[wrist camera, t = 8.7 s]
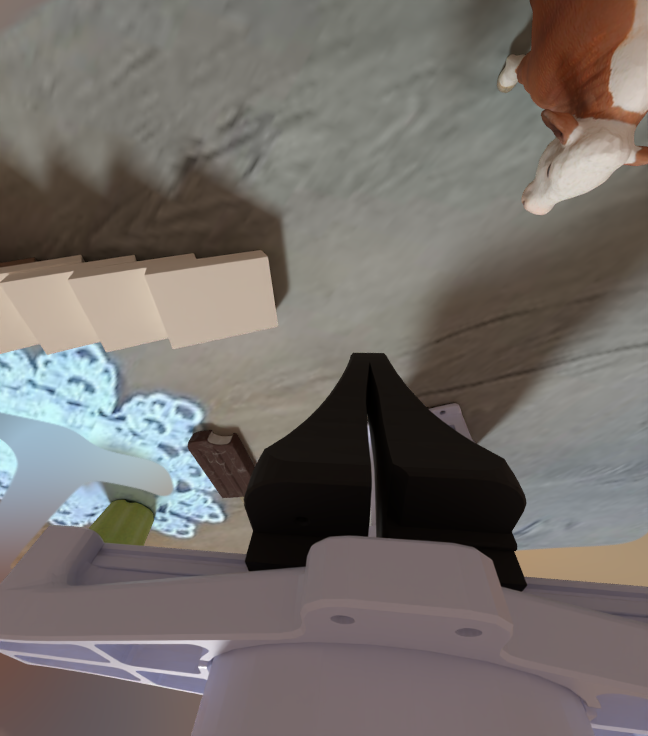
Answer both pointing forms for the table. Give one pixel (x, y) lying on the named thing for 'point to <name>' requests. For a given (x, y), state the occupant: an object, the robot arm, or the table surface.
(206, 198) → the table surface
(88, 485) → the table surface
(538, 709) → the robot arm
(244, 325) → the domino
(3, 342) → the domino
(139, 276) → the domino
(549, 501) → the table surface
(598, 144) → the bull figurine
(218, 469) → the ice cream bar
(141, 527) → the plant pot
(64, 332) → the domino
